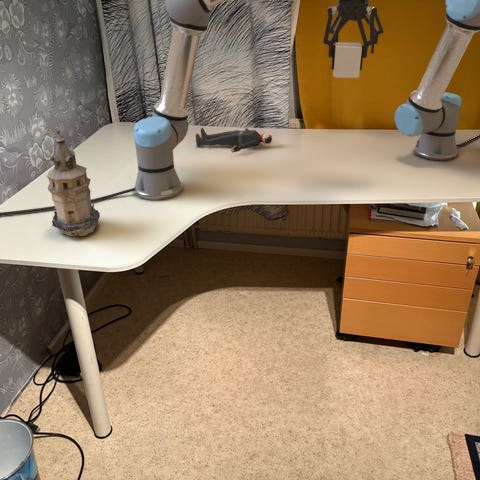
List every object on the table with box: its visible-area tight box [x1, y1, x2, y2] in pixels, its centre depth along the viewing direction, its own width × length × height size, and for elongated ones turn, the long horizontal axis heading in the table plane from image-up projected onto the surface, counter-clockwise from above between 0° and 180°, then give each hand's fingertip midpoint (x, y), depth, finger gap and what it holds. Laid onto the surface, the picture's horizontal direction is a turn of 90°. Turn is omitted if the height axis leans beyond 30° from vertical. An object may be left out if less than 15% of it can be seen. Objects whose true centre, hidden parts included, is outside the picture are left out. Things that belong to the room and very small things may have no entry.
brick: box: [332, 42, 363, 79], centre depth 160 cm, size 7×8×9 cm
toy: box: [195, 127, 273, 154], centre depth 215 cm, size 26×6×30 cm
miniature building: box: [46, 129, 101, 237], centre depth 148 cm, size 13×14×30 cm
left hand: (346, 68), depth 161 cm, fingers closed on brick, 7 cm apart
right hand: (354, 52), depth 207 cm, fingers open, 13 cm apart
